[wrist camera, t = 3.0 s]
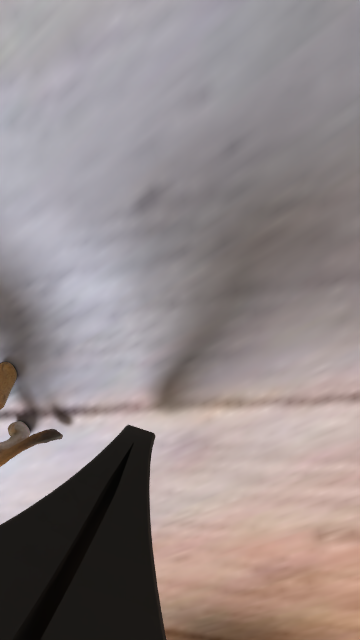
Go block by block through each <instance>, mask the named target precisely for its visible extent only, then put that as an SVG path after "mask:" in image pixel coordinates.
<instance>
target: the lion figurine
mask: <svg viewBox="0 0 360 640" xmlns="http://www.w3.org/2000/svg"><path fill="white" fill-rule="evenodd" d="M16 378H17V373H16V370H15V368H14V367H13V366H12V364H10V363H8V362H2V363H0V409H2V408H3V407H4V405H5V403H6V401H7V398H8V396H9V394H10V392H11V389H12V387H13V385H14V383H15V381H16ZM8 432H9V435H10V436H11V437H10V439H8V440H7V441H4V442H1V443H0V467H1V466H2V465H3V464H5V463H6V462H8V461H9V460H10V459H12V458H13V457H15V456H16V455H17V454H19V453H20V452H22V451H24V450H26V449H28V448H30V447H32V446H34V445H36V444H40V443H47V442H49V441H53V440H57V439H62V437H63V435H62V434H61V433H59V432H58V431H57V430H55V429H49V430H44V431H42V432H39V433H36V434H33V435H31V436H30V437H29V435H30V430H29V428H28V427H27V426H26V425H25V424H24V423H23V422H21V421H18V422H14V423H12V424H11V425H9V427H8Z"/></svg>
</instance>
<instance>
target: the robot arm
mask: <svg viewBox="0 0 360 640" xmlns="http://www.w3.org/2000/svg"><path fill="white" fill-rule="evenodd" d="M154 440H155V434H154V433H152V432H149V431H146V430H143V429H140V428H137V427H134V426H131V425H128V426H126V427H125V428H124V429H123V430H122V432H121V433H120V434H119V435H118V436H117V437H116V438H115V439H114V440H113V441H112V442H111V443H110V444H109V445H108V446H107V447H106V448H105V449H104V450H103V451H102V452H101V453H99V454H98V455H97V456H96V457H95V458H94V459H93V460H92V461H91V462H89V463H88V464H87V465H86V466H85V467H83V468H82V469H81V470H80V471H79V472H78V473H76V474H75V475H74V476H73V477H71V478H70V479H69V480H67V481H66V482H65V483H64V484H62V485H61V486H59V487H58V488H57V489H55V490H54V491H53V492H51V493H50V494H48V495H47V496H45V497H44V498H43V499H41V500H40V501H38V502H37V503H35V504H34V505H32V506H31V507H29V508H28V509H26V510H24V511H23V512H21V513H20V514H18V515H17V516H15V517H13V518H11V519H10V520H8V521H6V522H5V523H3V524H1V525H0V640H166V636H165V630H164V624H163V619H162V613H161V607H160V601H159V594H158V588H157V580H156V572H155V565H154V557H153V548H152V537H151V524H150V502H149V480H150V461H151V453H152V447H153V443H154Z"/></svg>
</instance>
